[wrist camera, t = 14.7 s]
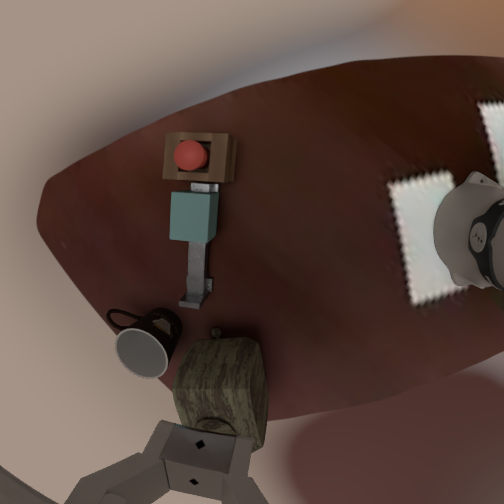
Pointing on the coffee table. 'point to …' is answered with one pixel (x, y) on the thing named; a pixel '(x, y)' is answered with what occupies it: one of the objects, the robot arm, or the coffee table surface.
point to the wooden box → (220, 157)
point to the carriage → (193, 216)
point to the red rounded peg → (191, 155)
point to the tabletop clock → (223, 388)
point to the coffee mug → (147, 341)
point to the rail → (198, 264)
